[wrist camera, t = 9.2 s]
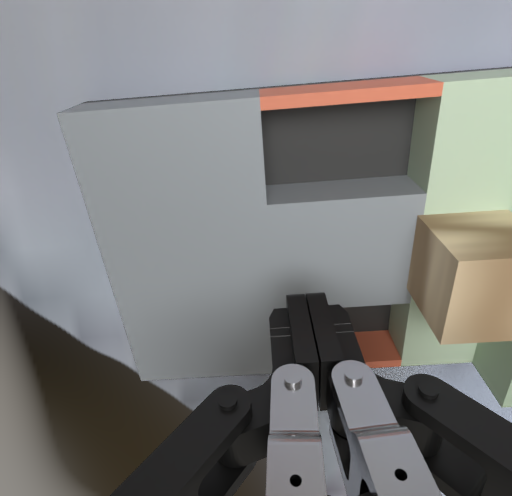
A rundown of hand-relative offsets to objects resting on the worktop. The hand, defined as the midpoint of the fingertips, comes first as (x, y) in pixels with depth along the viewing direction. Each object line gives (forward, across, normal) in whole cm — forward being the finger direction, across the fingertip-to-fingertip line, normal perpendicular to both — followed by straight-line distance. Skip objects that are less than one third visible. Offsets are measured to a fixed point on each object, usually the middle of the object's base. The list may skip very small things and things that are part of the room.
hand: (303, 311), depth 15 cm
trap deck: (+7, -1, 0) cm, 7 cm away
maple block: (+4, -8, 0) cm, 8 cm away
